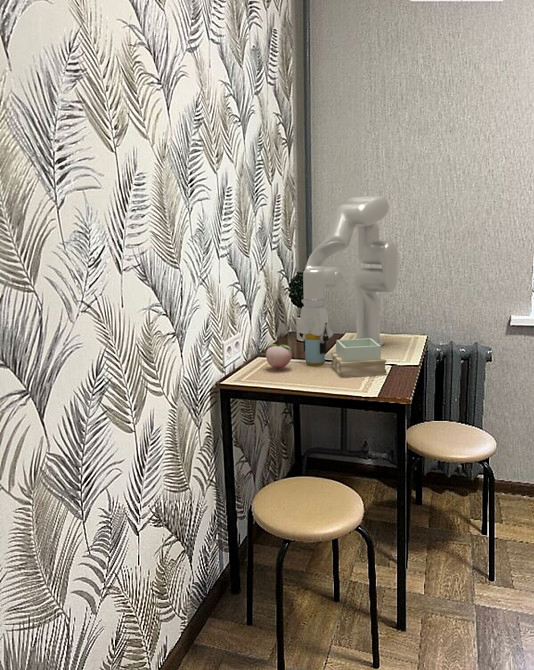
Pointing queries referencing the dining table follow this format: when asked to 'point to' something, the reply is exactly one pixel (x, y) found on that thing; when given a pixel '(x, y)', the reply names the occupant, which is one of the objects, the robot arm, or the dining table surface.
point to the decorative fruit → (278, 355)
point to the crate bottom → (358, 367)
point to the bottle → (313, 349)
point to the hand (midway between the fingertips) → (314, 351)
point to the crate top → (358, 350)
